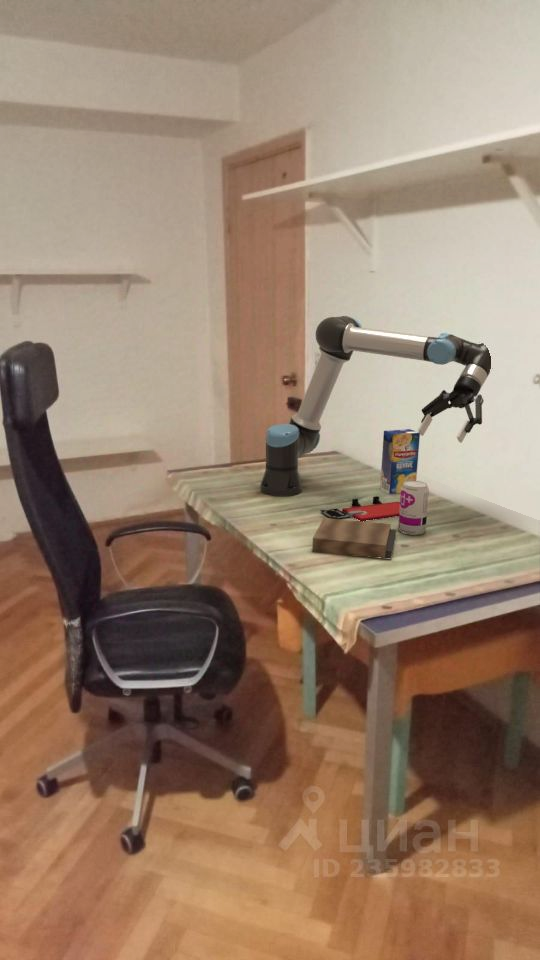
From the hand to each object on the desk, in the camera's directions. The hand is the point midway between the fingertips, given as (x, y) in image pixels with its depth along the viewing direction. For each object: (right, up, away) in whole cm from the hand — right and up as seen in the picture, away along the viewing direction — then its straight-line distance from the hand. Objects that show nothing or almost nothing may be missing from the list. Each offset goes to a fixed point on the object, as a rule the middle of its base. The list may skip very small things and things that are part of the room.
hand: (439, 436), depth 203 cm
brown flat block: (-28, -32, -11) cm, 44 cm away
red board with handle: (-19, -25, +18) cm, 36 cm away
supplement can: (-8, -29, 0) cm, 30 cm away
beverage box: (-4, -17, +43) cm, 47 cm away
